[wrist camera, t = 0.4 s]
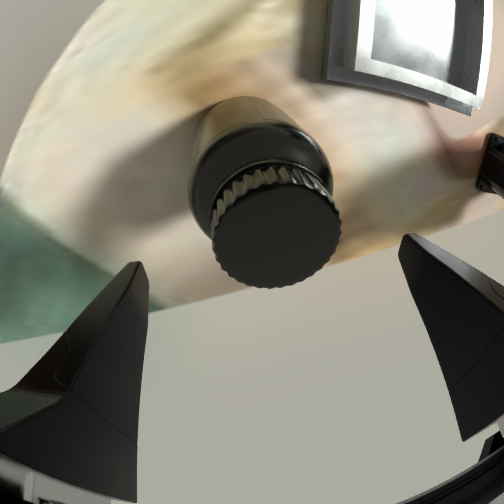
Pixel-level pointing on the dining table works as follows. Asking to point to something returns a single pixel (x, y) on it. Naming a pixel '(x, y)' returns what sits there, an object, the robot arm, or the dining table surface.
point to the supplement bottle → (262, 194)
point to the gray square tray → (412, 48)
